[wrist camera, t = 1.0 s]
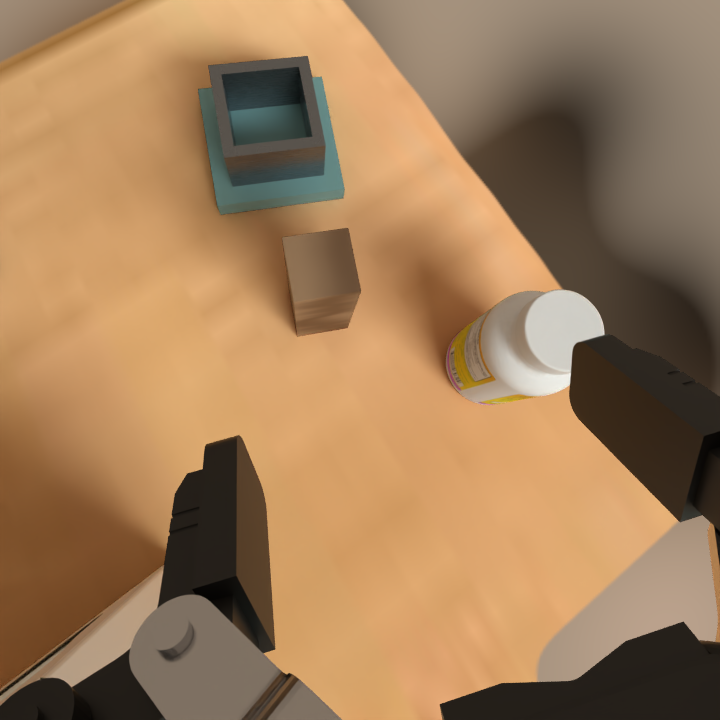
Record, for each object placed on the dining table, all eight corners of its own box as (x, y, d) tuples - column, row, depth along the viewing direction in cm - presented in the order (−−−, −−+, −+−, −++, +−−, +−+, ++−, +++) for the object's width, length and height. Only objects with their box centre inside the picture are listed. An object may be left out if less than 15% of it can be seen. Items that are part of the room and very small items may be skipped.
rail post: (297, 336, 38) (293, 302, 28) (288, 287, 38) (281, 237, 29) (347, 328, 38) (361, 291, 29) (338, 280, 39) (348, 227, 29)
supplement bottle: (537, 356, 40) (644, 320, 27) (494, 422, 39) (585, 416, 26) (472, 308, 40) (548, 249, 27) (426, 372, 39) (484, 341, 26)
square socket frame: (232, 186, 38) (223, 157, 34) (218, 103, 39) (208, 65, 35) (323, 175, 39) (325, 145, 35) (307, 93, 39) (307, 56, 36)
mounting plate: (220, 214, 39) (217, 205, 37) (202, 101, 40) (197, 89, 39) (343, 198, 40) (344, 189, 39) (321, 89, 41) (321, 76, 40)
